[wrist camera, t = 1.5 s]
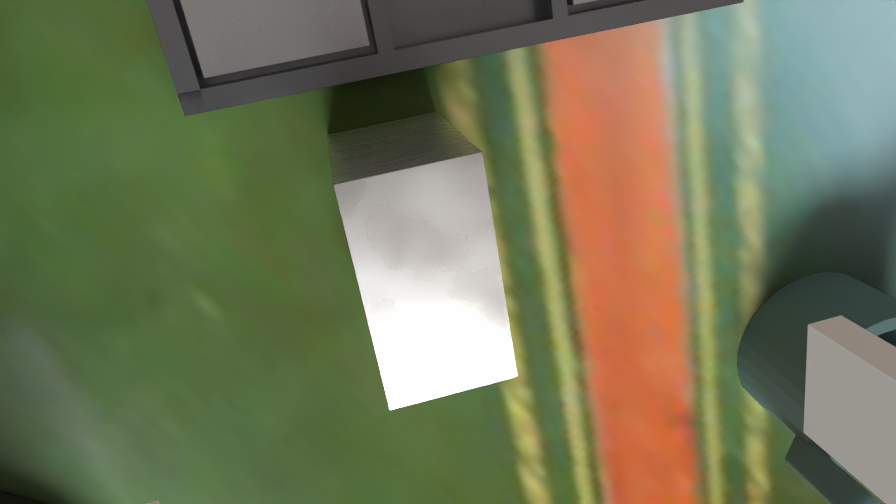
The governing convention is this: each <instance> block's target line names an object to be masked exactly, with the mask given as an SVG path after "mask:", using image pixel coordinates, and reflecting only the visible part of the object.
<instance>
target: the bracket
mask: <svg viewBox="0 0 896 504" xmlns="http://www.w3.org/2000/svg"><path fill="white" fill-rule="evenodd" d="M841 315H842V316H843V317H845V318H847V319H848V320H850V321H852V322H854V323H855V324H857V325H859V326H860V327H862V328H864V329H865V330H867V331H869V332H871V333H872V334H874V335H876V336H877V337H879V338H881V339H883V340H884V341H886V342H888V343H889V344H891V345H893V346H895V347H896V299H895V298H893V297H891V296H889V295H887V294H885V293H883V292H881V291H879V290H877V289H875V288H873V287H871V286H869V285H867V284H865V283H863V282H861V281H859V280H857V279H855V278H853V277H851V276H849V275H846V274H842V273H838V272H822V273H815V274H811V275H808V276H805V277H802V278H799V279H797V280H795V281H793V282H791V283H789V284H787V285H785V286H784V287H783V288H781V289H780V290H778V291H777V292H776V293H774V294H773V295H772V296H771V297H770V298H769V299H768V300H767V301H766V302H764V303H763V304H762V306H761V307H760V308H759V309H758V311H757V312H756V313H755V314H754V316H753V317H752V319H751V321H750V322H749V324H748V325H747V327H746V329H745V332H744V334H743V336H742V339H741V342H740V346H739V350H738V358H737V368H738V376H739V379H740V381H741V384H742V386H743V388H744V389H745V390H746V391H747V392H748V393H749V394H750V395H751V396H752V397H753V398H754V399H755V400H756V401H757V402H758V403H759V404H760V405H761V406H762V407H764V408H765V409H766V410H767V411H768V412H769V413H770V414H771V415H773V416H774V417H775V418H776V419H777V420H778V421H779V422H780V423H782V424H783V425H784V426H785V427H786V428H787V429H788V430H789V431H791V432H792V433H793V434H794V435H795V438H794V440H793V442H792V445H791V447H790V449H789V451H788V453H787V455H786V458H785V459H786V462H787V463H788V464H789V465H790V466H791V467H792V468H793V469H794V470H795V471H796V472H797V473H798V474H799V475H800V476H801V477H802V478H803V479H804V480H805V481H806V482H807V483H808V484H809V485H810V486H812V487H813V488H814V489H815V490H816V491H817V492H818V493H819V494H820V495H821V496H822V497H823V498H824V499H825V500H826V501H827V502H828V503H829V504H881V503H880V502H879V501H878V500H877V499H876V498H875V497H874V496H872V495H871V494H870V493H869V492H868V491H867V490H866V489H864V488H863V487H862V486H861V485H860V484H859V483H858V482H856V481H855V480H854V479H853V478H852V477H851V476H850V475H848V474H847V473H846V472H845V471H844V470H846V469H845V468H844V467H843V466H842V465H841V464H839V463H838V462H837V461H836V460H835V459H834V458H832V457H831V456H830V455H829V454H828V453H827V452H826V451H824V450H823V449H822V448H821V447H820V446H819V445H817V444H816V443H815V442H814V441H813V440H812V439H810V438H809V437H808V436H807V435H806V434H805V433H804V432H803V431H804V407H805V383H806V359H807V335H808V324H811V323H815V322H819V321H822V320H826V319H830V318H833V317H837V316H841ZM843 469H844V470H843Z"/></svg>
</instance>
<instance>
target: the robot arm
mask: <svg viewBox="0 0 896 504" xmlns="http://www.w3.org/2000/svg"><path fill="white" fill-rule="evenodd" d="M803 432H804V433H805V434H806V435H807V436H808V437H809V438H810V439H812V440H813V441H814V442H815V443H816V444H817V445H819V446H820V447H821V448H822V449H823V450H824V451H826V452H827V453H828V454H829V455H830V456H831V457H832V458H834V459H835V460H836V461H837V462H838V463H839V464H841V465H842V466H843V467H844V468H845V469H846V470H847V471H849V472H850V473H851V474H852V475H853V476H854V477H856V478H857V479H858V480H859V481H860V482H861V483H863V484H864V485H865V486H866V487H867V488H868V489H869V490H871V491H872V492H873V493H874V494H875V495H876V496H878V497H879V498H880V499H881V500H882V501H883V502H884V503H886V504H896V347H895V346H893V345H891V344H889V343H888V342H886V341H884V340H883V339H881V338H879V337H877V336H876V335H874V334H872V333H871V332H869V331H867V330H865V329H864V328H862V327H860V326H859V325H857V324H855V323H854V322H852V321H850V320H848V319H847V318H845V317H843V316H842V315H841V316H837V317H833V318H830V319H826V320H822V321H819V322H815V323H811V324H808V335H807V359H806V383H805V407H804V431H803ZM0 504H39V503H37V502H34V501H31V500H28V499H24V498H20V497H17V496H13V495H8V494H4V493H0ZM147 504H160V503H159V501H154V502H150V503H147Z"/></svg>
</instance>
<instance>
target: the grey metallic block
mask: <svg viewBox="0 0 896 504" xmlns="http://www.w3.org/2000/svg"><path fill="white" fill-rule="evenodd" d="M327 136H328V144H329V152H330V160H331V168H332V176H333V184H334V188H335V192H336V196H337V200H338V204H339V208H340V212H341V216H342V220H343V224H344V228H345V232H346V236H347V240H348V244H349V248H350V252H351V256H352V260H353V264H354V268H355V272H356V276H357V280H358V284H359V288H360V292H361V296H362V300H363V304H364V308H365V312H366V316H367V320H368V324H369V328H370V332H371V336H372V340H373V344H374V348H375V352H376V356H377V360H378V364H379V368H380V372H381V376H382V380H383V384H384V388H385V392H386V396H387V400H388V404H389V408H390V410H392V409H396V408H400V407H404V406H408V405H411V404H415V403H419V402H423V401H427V400H430V399H434V398H438V397H442V396H445V395H449V394H453V393H457V392H461V391H464V390H468V389H472V388H476V387H480V386H483V385H487V384H491V383H495V382H499V381H502V380H506V379H510V378H514V377H517V370H516V364H515V358H514V351H513V345H512V338H511V332H510V326H509V319H508V313H507V307H506V300H505V294H504V287H503V281H502V275H501V268H500V262H499V256H498V249H497V243H496V236H495V230H494V224H493V217H492V211H491V205H490V198H489V192H488V185H487V179H486V173H485V166H484V160H483V154H482V151H480V150H479V149H478V148H477V147H476V146H475V145H474V144H472V143H471V142H470V141H469V140H468V139H467V138H465V137H464V136H463V135H462V134H461V133H460V132H459V131H457V130H456V129H455V128H454V127H453V126H452V125H451V124H449V123H448V122H447V121H446V120H445V119H444V118H442V117H441V116H440V115H439V114H438V113H437V112H432V113H428V114H423V115H418V116H413V117H409V118H404V119H399V120H395V121H390V122H385V123H380V124H376V125H371V126H366V127H362V128H357V129H352V130H347V131H343V132H338V133H333V134H329V135H327Z"/></svg>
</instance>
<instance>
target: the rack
mask: <svg viewBox="0 0 896 504" xmlns="http://www.w3.org/2000/svg"><path fill="white" fill-rule="evenodd" d="M147 2H148V5H149V8H150V11H151V14H152V17H153V20H154V23H155V26H156V30H157V33H158V36H159V39H160V42H161V45H162V48H163V51H164V54H165V57H166V60H167V63H168V66H169V69H170V72H171V75H172V78H173V82H174V85H175V88H176V91H177V94H178V97H179V100H180V103H181V106H182V109H183V112H184V115H185V116H188V115H193V114H198V113H203V112H208V111H212V110H217V109H222V108H227V107H232V106H237V105H242V104H247V103H252V102H257V101H261V100H266V99H271V98H276V97H281V96H286V95H291V94H296V93H301V92H306V91H310V90H315V89H320V88H325V87H330V86H335V85H340V84H345V83H350V82H355V81H359V80H364V79H369V78H374V77H379V76H384V75H389V74H394V73H399V72H404V71H408V70H413V69H418V68H423V67H428V66H433V65H438V64H443V63H448V62H453V61H457V60H462V59H467V58H472V57H477V56H482V55H487V54H492V53H497V52H502V51H506V50H511V49H516V48H521V47H526V46H531V45H536V44H541V43H546V42H551V41H555V40H560V39H565V38H570V37H575V36H580V35H585V34H590V33H595V32H600V31H604V30H609V29H614V28H619V27H624V26H629V25H634V24H639V23H644V22H649V21H653V20H658V19H663V18H668V17H673V16H678V15H683V14H688V13H693V12H698V11H702V10H707V9H712V8H717V7H722V6H727V5H732V4H737V3H742V2H743V0H147Z"/></svg>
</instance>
